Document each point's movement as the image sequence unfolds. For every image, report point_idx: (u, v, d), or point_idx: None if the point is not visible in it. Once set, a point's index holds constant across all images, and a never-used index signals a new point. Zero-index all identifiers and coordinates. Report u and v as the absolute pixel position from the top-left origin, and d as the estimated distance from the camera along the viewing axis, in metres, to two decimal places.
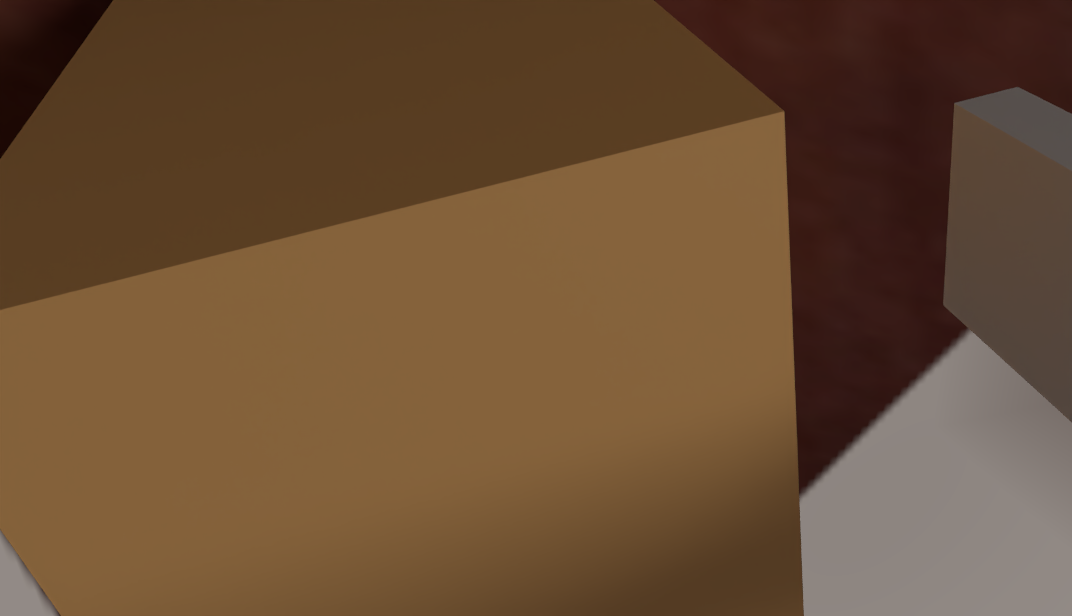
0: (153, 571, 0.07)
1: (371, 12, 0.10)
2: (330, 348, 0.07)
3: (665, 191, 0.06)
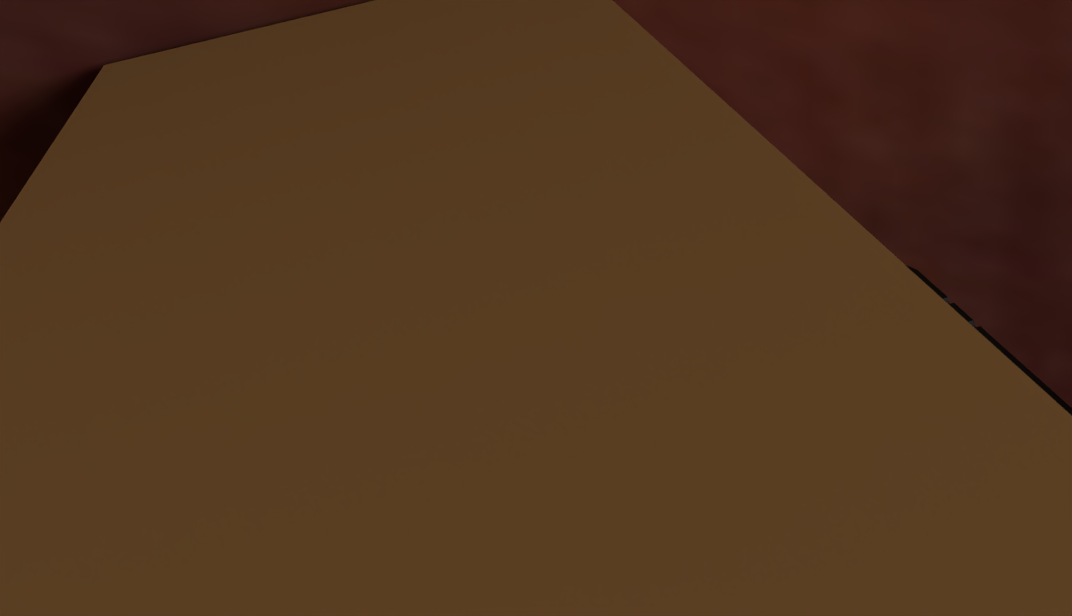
0: None
1: (406, 196, 0.07)
2: None
3: None
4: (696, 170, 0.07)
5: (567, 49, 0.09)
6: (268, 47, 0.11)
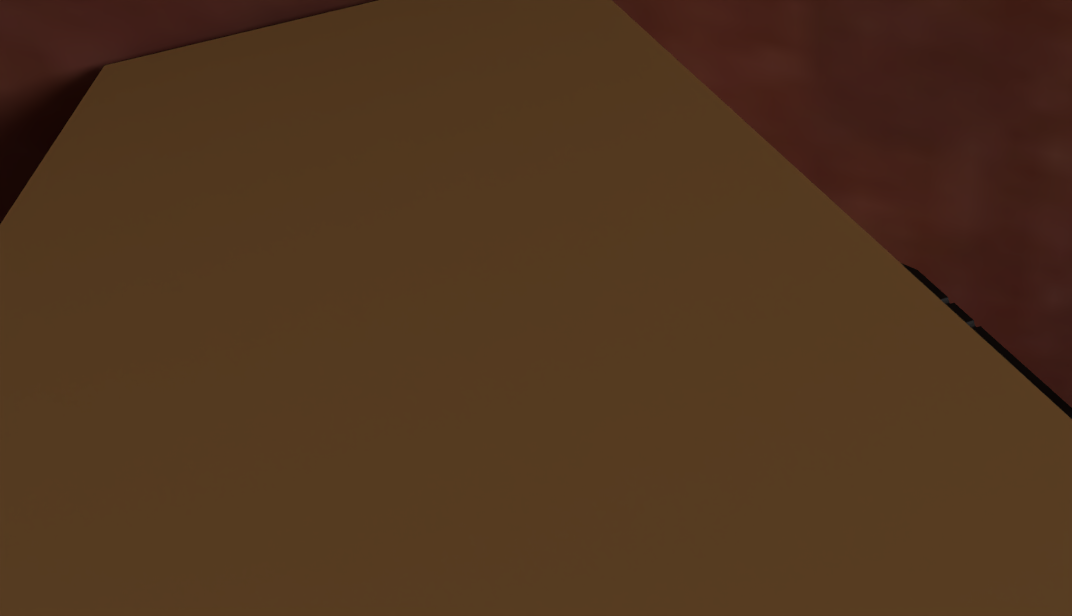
0: None
1: (407, 198, 0.07)
2: None
3: None
4: (698, 174, 0.07)
5: (568, 50, 0.09)
6: (268, 48, 0.11)
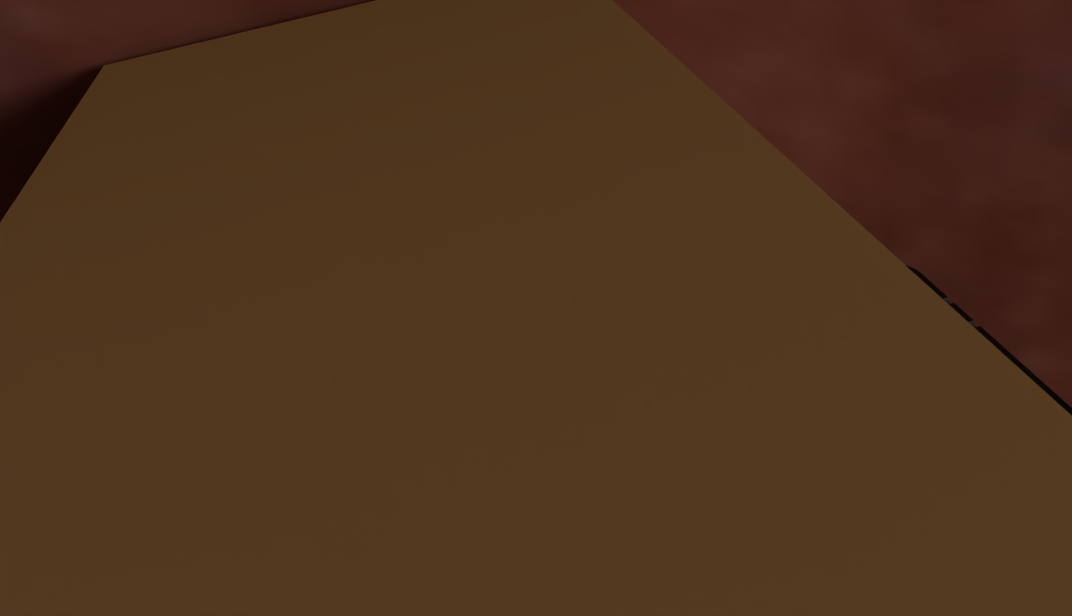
0: None
1: (406, 197, 0.07)
2: None
3: None
4: (698, 171, 0.07)
5: (567, 48, 0.09)
6: (268, 47, 0.11)
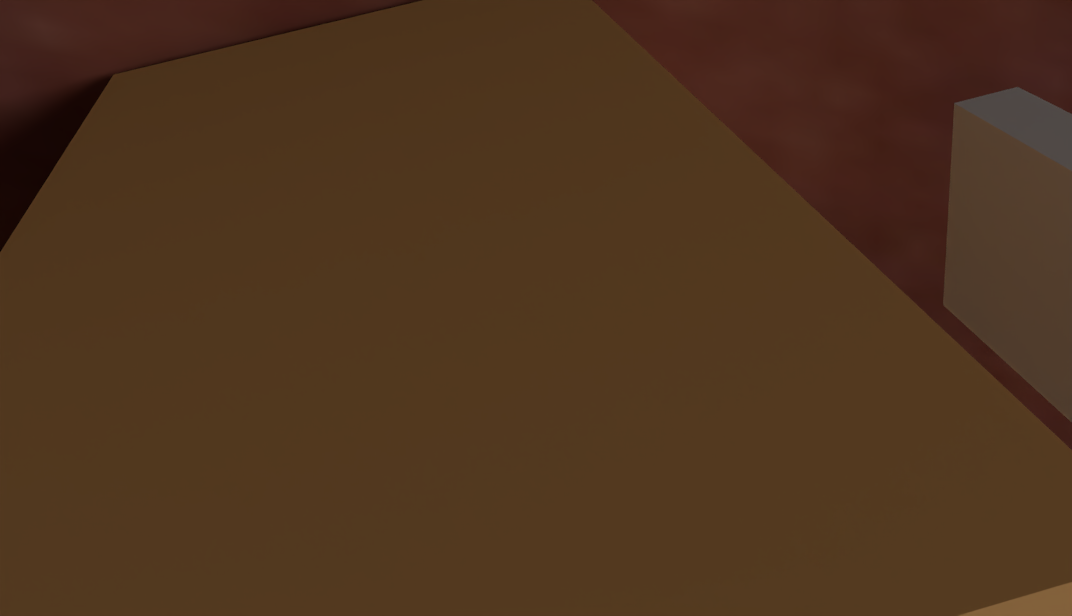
0: None
1: (405, 199, 0.07)
2: None
3: None
4: (679, 173, 0.07)
5: (559, 58, 0.10)
6: (272, 57, 0.12)
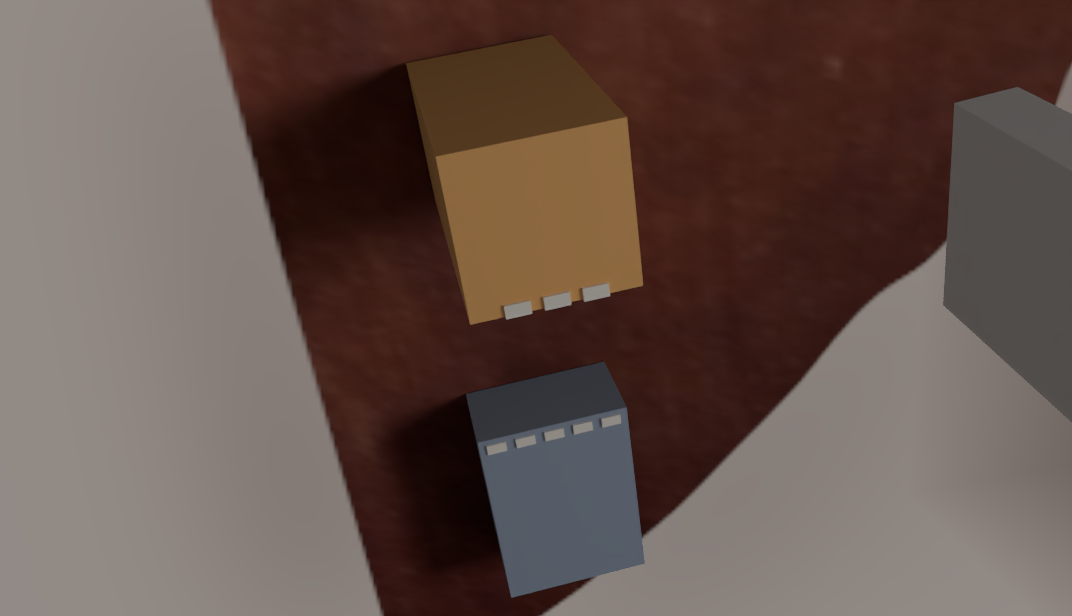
0: (475, 224, 0.30)
1: (517, 89, 0.33)
2: (525, 166, 0.30)
3: (601, 133, 0.29)
4: (577, 84, 0.33)
5: (552, 61, 0.36)
6: (462, 59, 0.38)
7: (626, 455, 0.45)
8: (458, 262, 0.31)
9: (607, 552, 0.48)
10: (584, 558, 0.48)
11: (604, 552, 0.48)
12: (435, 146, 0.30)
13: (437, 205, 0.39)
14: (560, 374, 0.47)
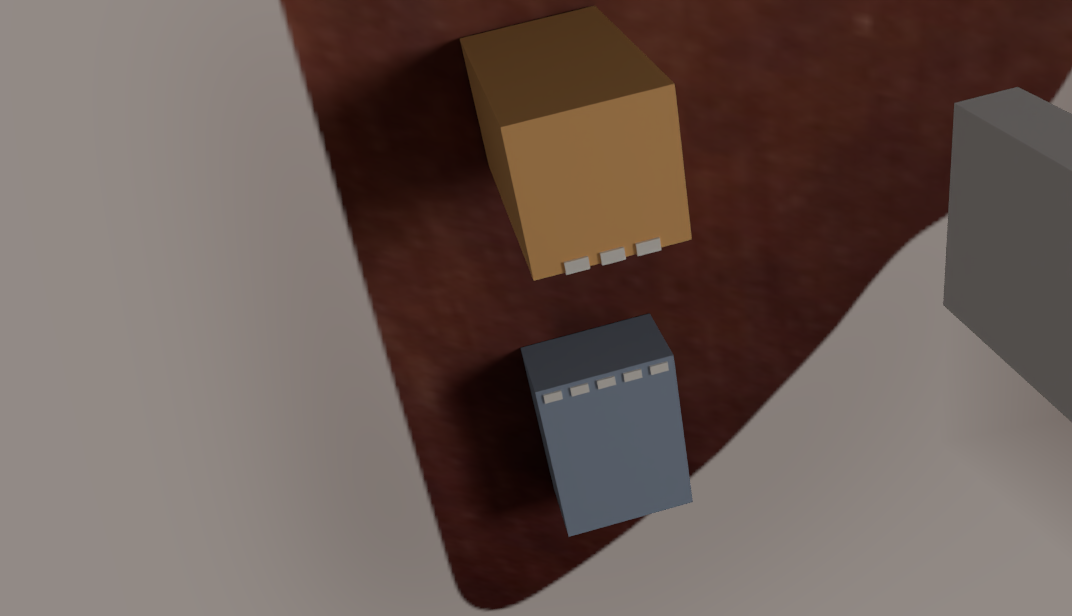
0: (537, 188, 0.33)
1: (568, 60, 0.36)
2: (582, 133, 0.32)
3: (651, 100, 0.32)
4: (625, 54, 0.35)
5: (598, 32, 0.38)
6: (512, 32, 0.40)
7: (674, 400, 0.48)
8: (522, 223, 0.33)
9: (657, 492, 0.51)
10: (636, 498, 0.51)
11: (654, 492, 0.51)
12: (498, 117, 0.32)
13: (492, 171, 0.42)
14: (608, 327, 0.50)
